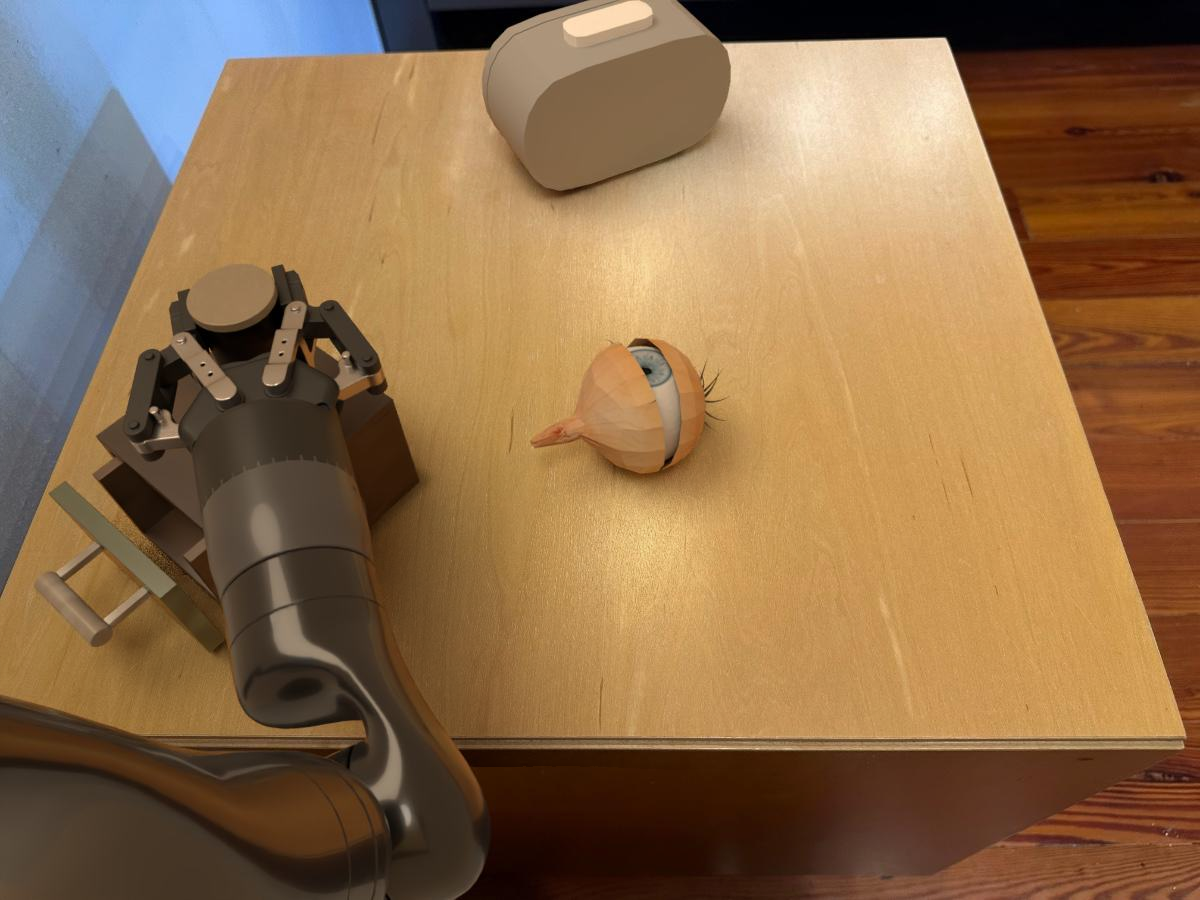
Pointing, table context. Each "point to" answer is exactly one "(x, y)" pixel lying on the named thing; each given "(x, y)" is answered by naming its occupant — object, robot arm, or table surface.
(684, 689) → the table surface
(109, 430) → the cabinet
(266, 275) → the tin
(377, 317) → the table surface
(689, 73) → the alarm clock
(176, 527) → the drawer
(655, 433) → the sculpture
